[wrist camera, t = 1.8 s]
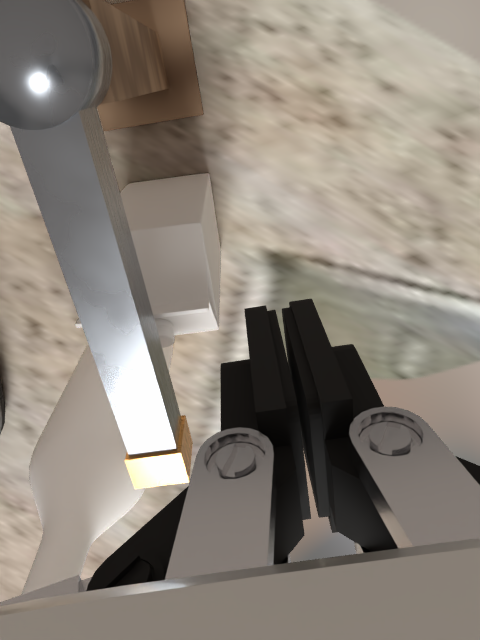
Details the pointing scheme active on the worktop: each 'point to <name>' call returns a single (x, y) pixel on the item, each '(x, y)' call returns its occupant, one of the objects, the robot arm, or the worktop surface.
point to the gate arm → (90, 219)
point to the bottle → (78, 476)
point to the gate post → (148, 63)
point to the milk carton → (176, 252)
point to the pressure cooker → (2, 408)
